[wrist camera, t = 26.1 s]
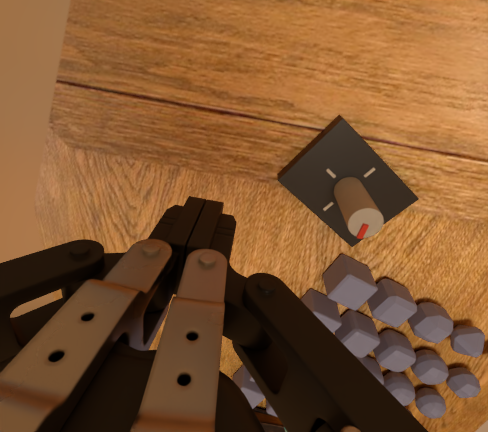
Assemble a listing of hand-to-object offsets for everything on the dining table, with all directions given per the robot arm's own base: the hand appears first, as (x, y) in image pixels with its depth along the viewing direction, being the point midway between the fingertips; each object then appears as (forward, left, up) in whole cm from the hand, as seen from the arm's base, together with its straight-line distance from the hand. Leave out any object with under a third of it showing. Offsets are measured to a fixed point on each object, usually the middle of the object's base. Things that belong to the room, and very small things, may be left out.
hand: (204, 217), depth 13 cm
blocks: (+44, -18, -25) cm, 54 cm away
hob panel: (+15, +2, -25) cm, 29 cm away
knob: (+15, +2, -23) cm, 28 cm away
